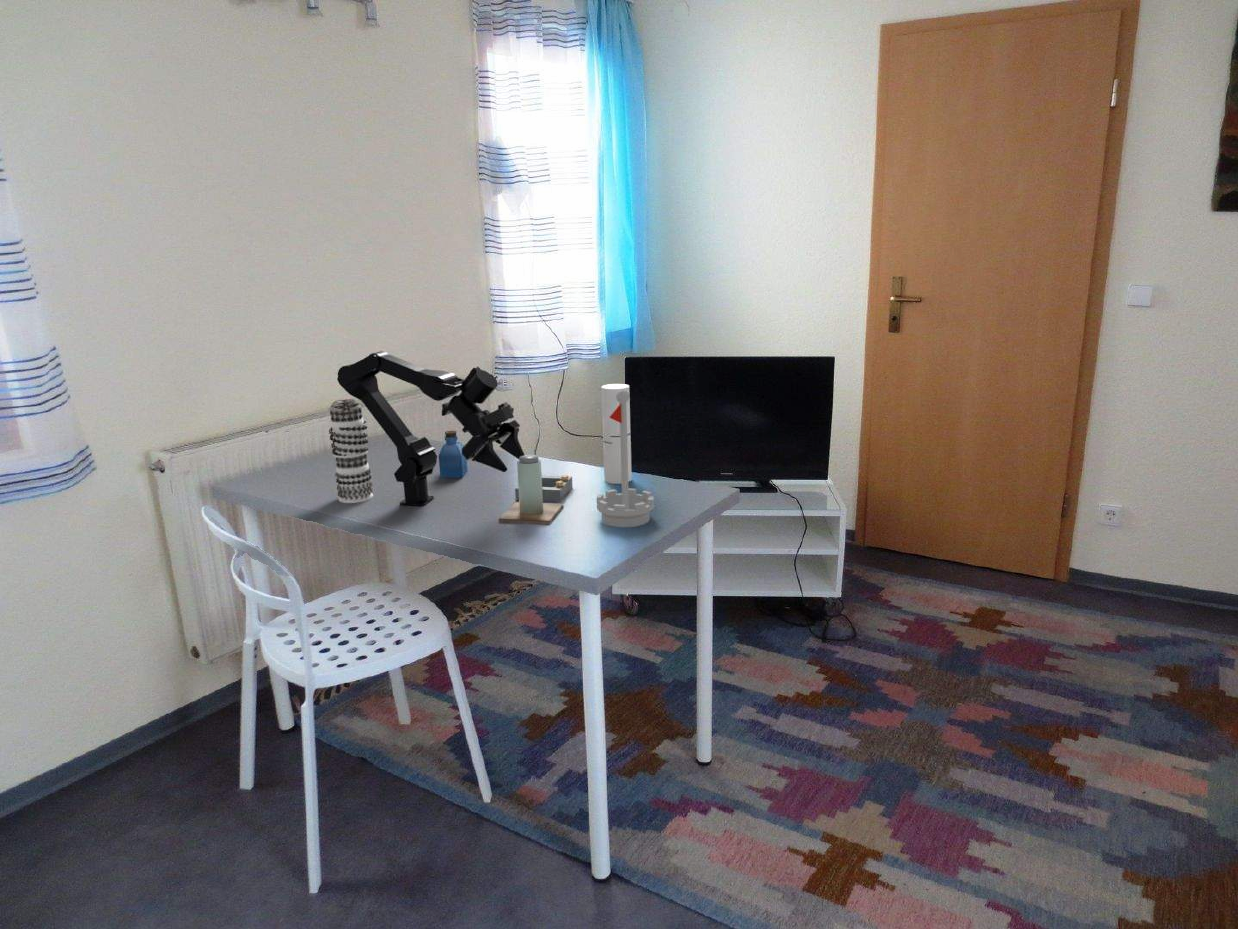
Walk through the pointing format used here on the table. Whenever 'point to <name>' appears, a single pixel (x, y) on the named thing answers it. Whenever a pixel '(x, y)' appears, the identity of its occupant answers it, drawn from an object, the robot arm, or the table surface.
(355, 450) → the decorative candle
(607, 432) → the cylindrical container
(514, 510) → the walnut pad
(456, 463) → the perfume bottle
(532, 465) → the grey-lidded mint jar
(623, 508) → the flag stand
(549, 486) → the grey square tray
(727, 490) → the table surface
